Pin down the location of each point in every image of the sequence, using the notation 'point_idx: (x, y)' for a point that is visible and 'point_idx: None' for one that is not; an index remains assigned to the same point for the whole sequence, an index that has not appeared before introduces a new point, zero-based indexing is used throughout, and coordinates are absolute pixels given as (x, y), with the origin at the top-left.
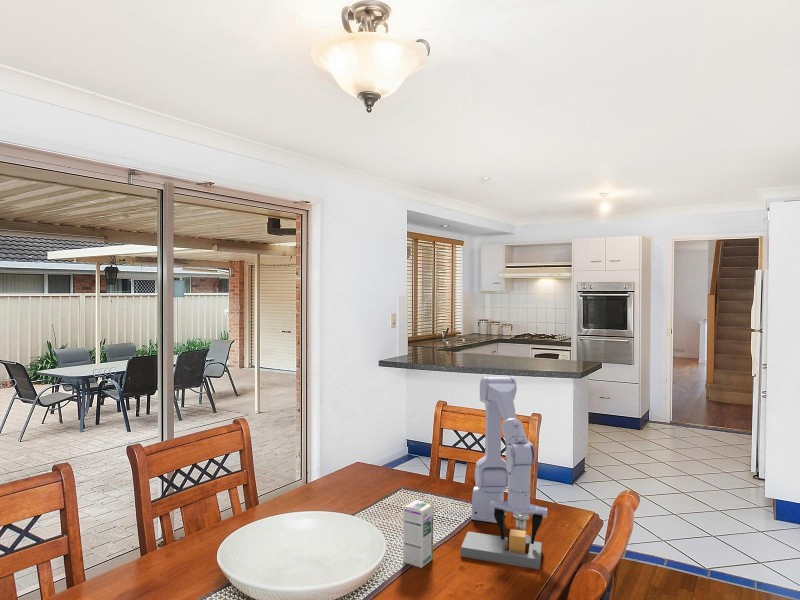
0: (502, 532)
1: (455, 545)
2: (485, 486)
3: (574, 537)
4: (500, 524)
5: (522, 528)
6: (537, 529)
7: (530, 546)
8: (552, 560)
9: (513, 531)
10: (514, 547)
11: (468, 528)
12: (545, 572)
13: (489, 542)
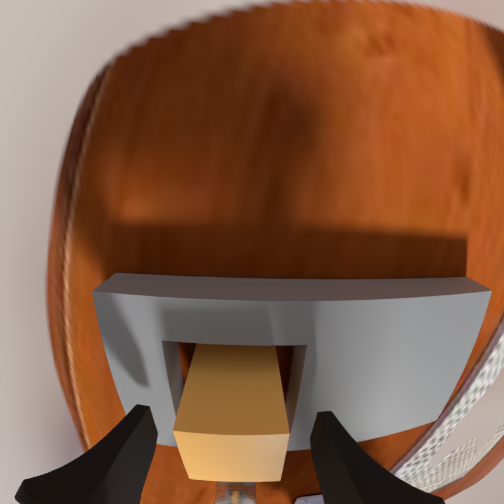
0: (338, 441)
1: None
2: None
3: None
4: (373, 478)
5: (226, 493)
6: (72, 461)
7: (169, 411)
8: (93, 361)
9: (261, 469)
10: (247, 381)
11: (399, 452)
12: (90, 252)
13: (378, 389)
